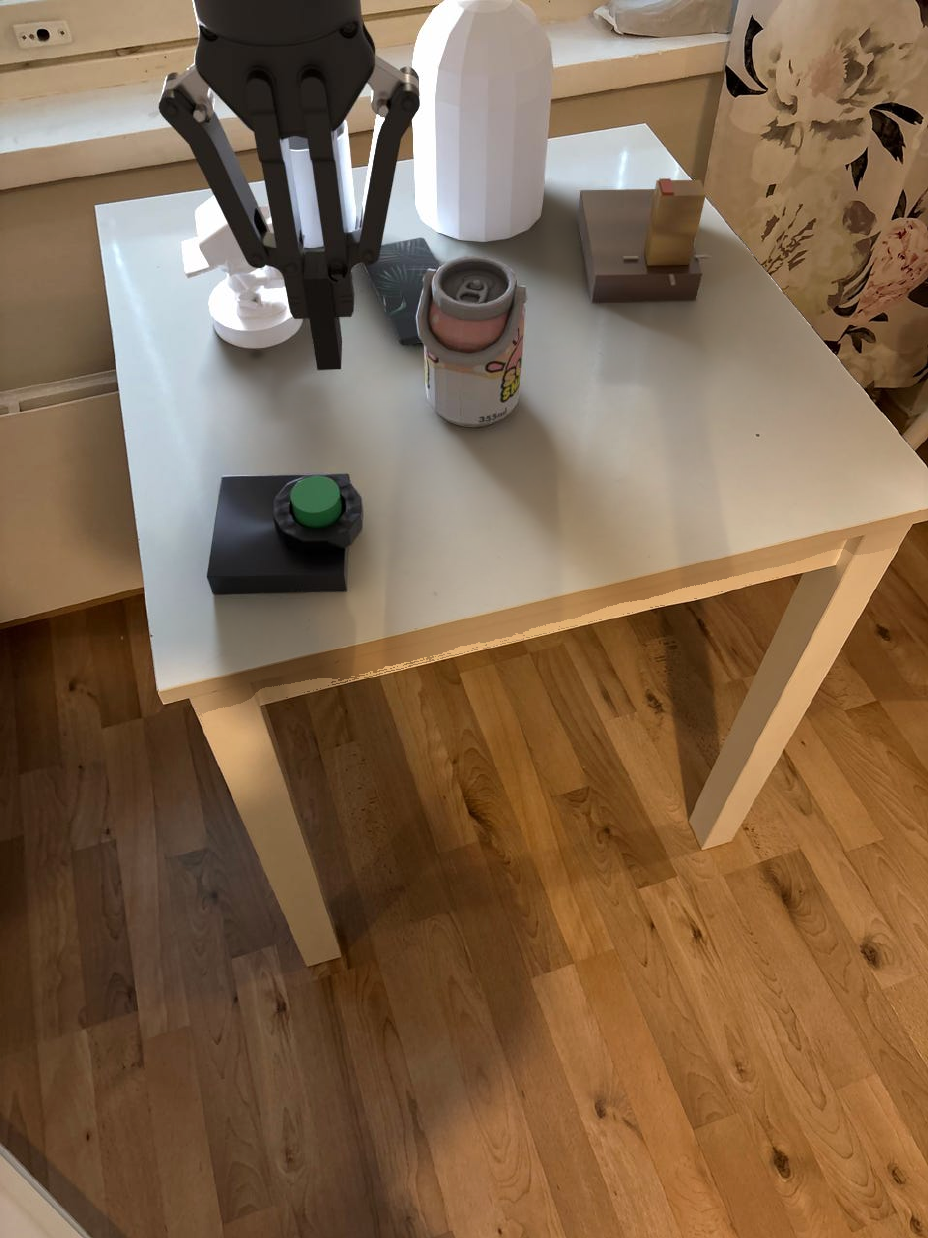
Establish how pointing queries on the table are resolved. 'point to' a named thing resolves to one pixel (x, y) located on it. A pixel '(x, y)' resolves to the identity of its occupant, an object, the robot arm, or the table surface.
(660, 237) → the tan wooden block
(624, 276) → the plate
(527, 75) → the container
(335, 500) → the open button
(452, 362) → the beverage can
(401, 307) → the smartphone
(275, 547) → the box
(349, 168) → the cup
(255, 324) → the character figurine
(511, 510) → the table surface
